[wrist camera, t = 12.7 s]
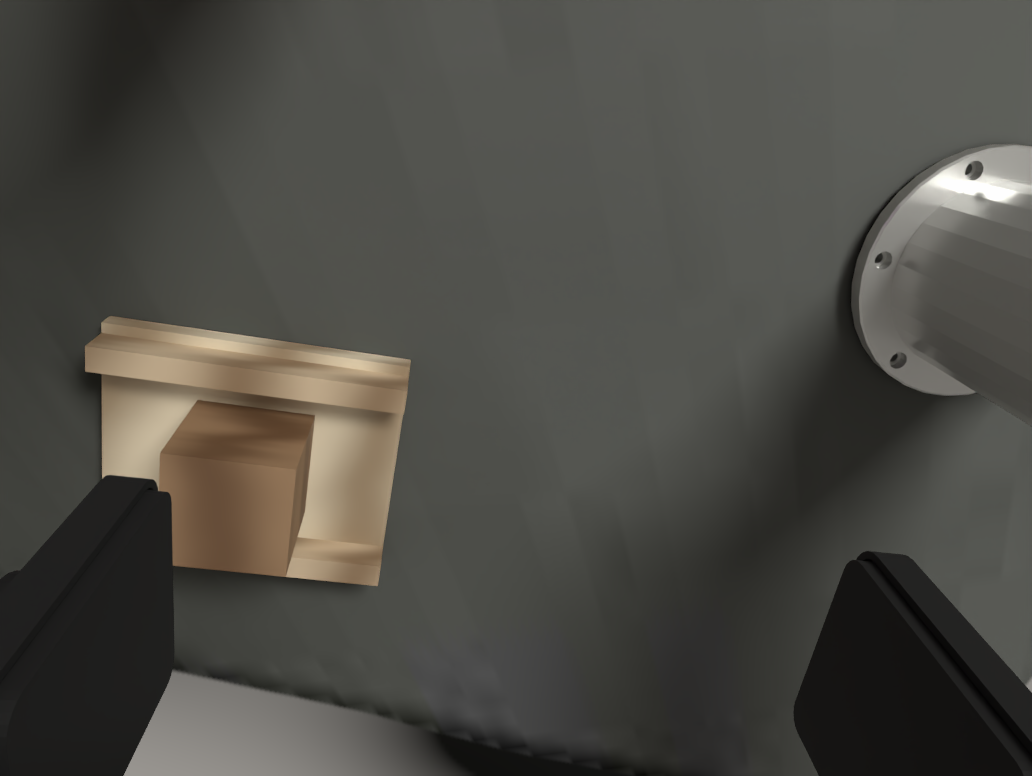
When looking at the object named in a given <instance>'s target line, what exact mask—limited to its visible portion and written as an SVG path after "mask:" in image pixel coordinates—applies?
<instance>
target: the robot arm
mask: <svg viewBox="0 0 1032 776" xmlns="http://www.w3.org/2000/svg"><path fill="white" fill-rule="evenodd" d="M877 255H878V257H877ZM876 257H877V259H876V260H875V258H876ZM851 309H852V314H853V320H854V326H855V329H856V332H857V334H858V337H859V339H860V341H861V344H862V346H863V348H864V349H865V351H866V352H867V353H868V355H869V356H870V357H871V359H872V360H873V362H874V363H875V364H877V365H878V366H879V367H880V368H881V369H882V370H883V371H885V372H886V373H887V374H888V375H890V376H891V377H893V378H894V379H896V380H897V381H899V382H901V383H902V384H904V385H905V386H908V387H910V388H913V389H915V390H918V391H921V392H923V393H929V394H935V395H941V396H957V395H969V394H974V393H978V394H980V395H982V396H983V397H985V398H986V399H988V400H990V401H991V402H993V403H995V404H996V405H998V406H999V407H1001V408H1003V409H1004V410H1006V411H1007V412H1009V413H1011V414H1012V415H1014V416H1015V417H1017V418H1019V419H1020V420H1022V421H1024V422H1025V423H1027V424H1028V425H1030V426H1032V147H1031V146H1025V145H1018V144H991V145H986V146H981V147H976V148H972V149H967V150H964V151H962V152H960V153H957V154H955V155H952V156H950V157H947V158H945V159H942V160H941V161H939V162H938V163H936V164H934V165H933V166H931V167H930V168H928V169H926V170H925V171H923V172H922V173H920V174H919V175H917V176H916V177H915V178H914V179H913V180H912V181H910V182H909V183H908V184H907V185H906V186H905V187H904V188H902V189H901V190H900V191H899V192H898V193H897V194H896V195H895V197H894V198H893V199H892V200H891V201H890V202H889V204H888V205H887V206H886V207H885V208H884V210H883V211H882V212H881V213H880V215H879V216H878V218H877V220H876V221H875V223H874V225H873V226H872V228H871V230H870V231H869V233H868V234H867V236H866V239H865V241H864V244H863V246H862V249H861V251H860V253H859V256H858V258H857V262H856V267H855V271H854V276H853V280H852V293H851ZM173 663H174V607H173V550H172V502H171V496H170V494H169V493H168V492H163V491H158V486H157V483H156V482H155V481H154V480H153V479H145V478H136V477H126V476H116V475H106V476H105V477H104V478H102V479H101V480H100V481H99V483H98V484H97V485H96V486H95V487H94V488H93V489H92V490H91V492H90V493H89V494H88V495H87V496H86V497H85V498H84V500H83V501H82V502H81V503H80V504H79V505H78V506H77V507H76V509H75V510H74V511H73V512H72V513H71V514H70V515H69V516H68V518H67V519H66V520H65V521H64V522H63V523H62V524H61V525H60V527H59V528H58V529H57V530H56V531H55V532H54V533H53V534H52V536H51V537H50V538H49V539H48V540H47V541H46V542H45V543H44V545H43V546H42V547H41V548H40V549H39V550H38V551H37V553H36V554H35V555H34V556H33V557H32V558H31V559H30V560H29V562H28V563H27V564H26V565H25V566H24V567H23V568H22V569H21V571H13V572H10V573H8V574H6V575H5V576H4V577H3V578H2V579H0V776H123V775H124V773H125V771H126V769H127V767H128V765H129V763H130V761H131V759H132V757H133V755H134V752H135V750H136V748H137V746H138V744H139V742H140V740H141V738H142V736H143V734H144V732H145V730H146V728H147V726H148V724H149V722H150V720H151V717H152V715H153V713H154V711H155V709H156V707H157V705H158V703H159V701H160V699H161V697H162V695H163V693H164V691H165V689H166V687H167V684H168V682H169V679H170V676H171V673H172V668H173ZM794 722H795V727H796V729H797V732H798V734H799V736H800V738H801V740H802V742H803V744H804V746H805V748H806V750H807V752H808V754H809V756H810V758H811V760H812V762H813V764H814V767H815V769H816V771H817V773H818V775H819V776H1032V693H1031V692H1030V691H1029V689H1028V688H1027V687H1026V686H1025V685H1024V684H1023V683H1022V681H1021V680H1020V679H1019V678H1018V677H1017V676H1016V675H1015V674H1014V672H1013V671H1012V670H1011V669H1010V668H1009V667H1008V666H1007V665H1006V664H1005V662H1004V661H1003V660H1002V659H1001V658H1000V657H999V656H998V655H997V653H996V652H995V651H994V650H993V649H992V648H991V647H990V646H989V645H988V643H987V642H986V641H985V640H984V639H983V638H982V637H981V636H980V635H979V633H978V632H977V631H976V630H975V629H974V628H973V627H972V626H971V624H970V623H969V622H968V621H967V620H966V619H965V618H964V617H963V616H962V614H961V613H960V612H959V611H958V610H957V609H956V608H955V607H954V605H953V604H952V603H951V602H950V601H949V600H948V599H947V598H946V597H945V595H944V594H943V593H942V592H941V591H940V590H939V589H938V588H937V586H936V585H935V584H934V583H933V582H932V581H931V580H930V579H929V578H928V576H927V575H926V574H925V573H924V572H923V571H922V570H921V569H920V567H919V566H918V565H917V564H916V563H915V562H914V561H913V560H912V559H911V558H910V557H908V556H906V555H901V554H891V553H881V552H871V551H866V552H863V553H861V554H860V555H859V556H858V558H857V559H856V560H852V561H850V562H849V563H848V564H847V565H846V567H845V569H844V571H843V574H842V576H841V579H840V582H839V585H838V587H837V590H836V593H835V595H834V598H833V601H832V603H831V606H830V609H829V612H828V614H827V617H826V620H825V622H824V625H823V628H822V631H821V633H820V636H819V639H818V641H817V644H816V647H815V650H814V652H813V655H812V658H811V660H810V663H809V666H808V669H807V671H806V674H805V677H804V679H803V682H802V685H801V687H800V690H799V693H798V696H797V698H796V701H795V705H794Z"/></svg>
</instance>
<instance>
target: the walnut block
mask: <svg viewBox="0 0 1032 776" xmlns="http://www.w3.org/2000/svg"><path fill="white" fill-rule="evenodd" d="M314 421H315V415H309V414H302V413H294V412H287V411H279V410H271V409H264V408H256V407H249V406H241V405H233V404H226V403H218V402H211V401H203V400H197V401H196V403H195V404H194V406H193V407H192V408H191V410H190V411H189V413H188V414H187V416H186V417H185V418H184V420H183V421H182V423H181V424H180V425H179V427H178V428H177V430H176V431H175V432H174V434H173V435H172V437H171V438H170V440H169V441H168V442H167V444H166V445H165V447H164V448H163V449H162V451H161V452H160V466H159V491H163V492H168V493H169V494H170V496H171V502H172V550H173V566H182V567H192V568H202V569H213V570H223V571H233V572H243V573H253V574H263V575H273V576H283V577H286V574H287V571H288V568H289V564H290V561H291V557H292V554H293V551H294V547H295V544H296V540H297V537H298V534H299V530H300V527H301V523H302V520H303V517H304V513H305V507H306V497H307V488H308V478H309V469H310V459H311V450H312V440H313V431H314Z"/></svg>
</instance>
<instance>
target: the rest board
mask: <svg viewBox="0 0 1032 776" xmlns="http://www.w3.org/2000/svg"><path fill="white" fill-rule="evenodd" d="M410 363H411V360H409V359H402V358H395V357H388V356H381V355H374V354H368V353H361V352H354V351H347V350H340V349H333V348H327V347H320V346H313V345H306V344H299V343H292V342H285V341H279V340H272V339H265V338H258V337H251V336H244V335H238V334H231V333H224V332H217V331H210V330H203V329H196V328H190V327H183V326H176V325H169V324H162V323H155V322H149V321H142V320H135V319H128V318H121V317H114V316H109V317H108V318H106V319H105V320H104V321H103V322H101V334H99V335H98V336H97V337H96V338H94V339H93V340H92V341H91V342H89V343H88V344H87V345H86V346H85V372H92V373H99V374H102V478H104V477H105V476H106V475H116V476H126V477H136V478H145V479H153V480H154V481H155V482H156V483H157V486H158V491H159V466H160V452H161V451H162V449H163V448H164V447H165V445H166V444H167V442H168V441H169V440H170V438H171V437H172V435H173V434H174V432H175V431H176V430H177V428H178V427H179V425H180V424H181V423H182V421H183V420H184V418H185V417H186V416H187V414H188V413H189V411H190V410H191V408H192V407H193V406H194V404H195V403H196V401H197V400H203V401H211V402H218V403H226V404H233V405H241V406H249V407H256V408H264V409H271V410H279V411H287V412H294V413H302V414H309V415H315V421H314V431H313V440H312V450H311V459H310V469H309V478H308V488H307V497H306V507H305V513H304V517H303V520H302V523H301V527H300V530H299V534H298V537H297V540H296V544H295V547H294V551H293V554H292V557H291V561H290V564H289V568H288V571H287V574H286V577H292V578H302V579H312V580H322V581H332V582H342V583H352V584H362V585H372V586H378V581H379V574H380V568H381V559H382V550H383V543H384V536H385V529H386V523H387V516H388V510H389V503H390V496H391V490H392V483H393V477H394V470H395V464H396V457H397V450H398V444H399V437H400V431H401V424H402V417H403V414H404V410H405V403H406V397H407V389H408V379H409V371H410ZM212 570H213V569H212ZM222 571H223V570H222ZM232 572H233V571H232ZM242 573H243V572H242ZM252 574H253V573H252ZM262 575H263V574H262ZM272 576H273V575H272ZM282 577H283V576H282Z"/></svg>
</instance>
